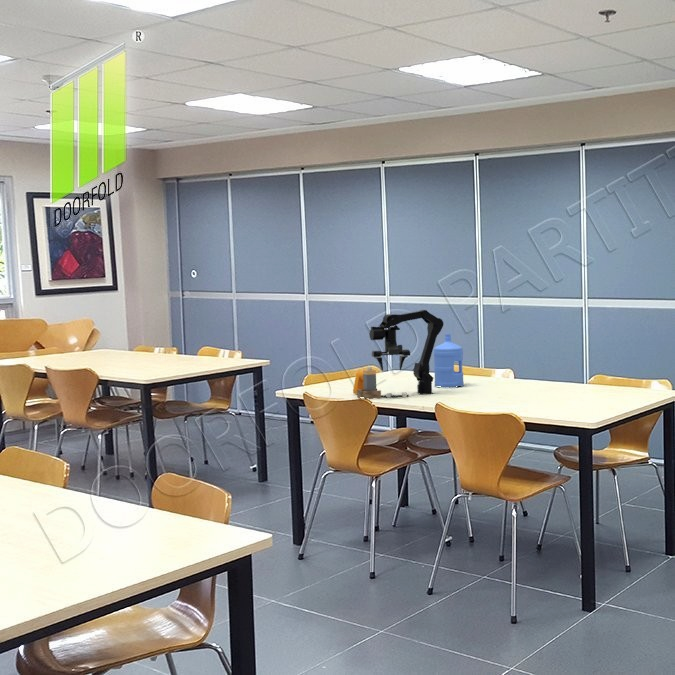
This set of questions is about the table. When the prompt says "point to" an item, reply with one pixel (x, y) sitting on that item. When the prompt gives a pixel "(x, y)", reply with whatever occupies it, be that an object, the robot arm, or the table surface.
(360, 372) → the orange rounded lump
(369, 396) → the end cradle
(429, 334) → the robot arm
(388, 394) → the cable clips
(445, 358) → the water jug
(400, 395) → the cable run
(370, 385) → the grey tall block
